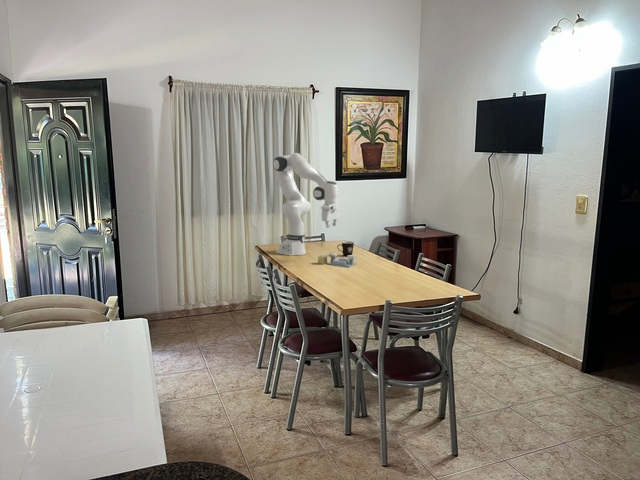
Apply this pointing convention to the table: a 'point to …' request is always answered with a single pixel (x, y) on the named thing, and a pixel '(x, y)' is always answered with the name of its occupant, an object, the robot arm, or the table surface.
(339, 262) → the shaft rig
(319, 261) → the coupler
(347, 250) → the coffee mug
